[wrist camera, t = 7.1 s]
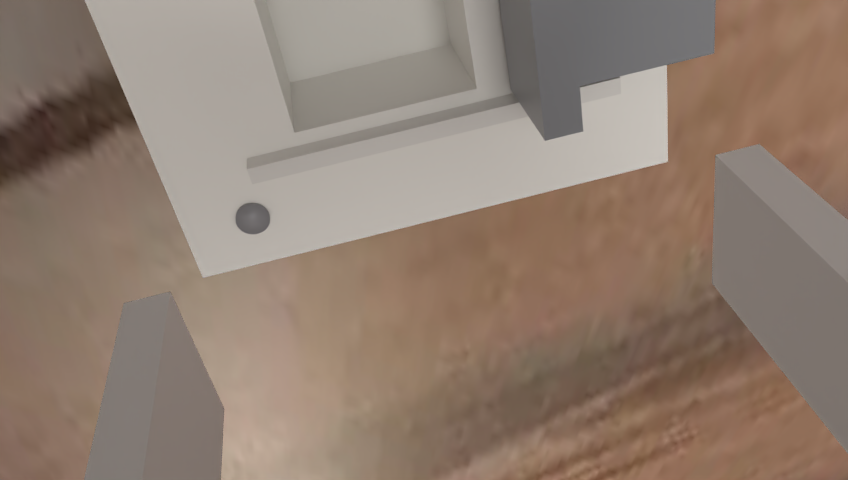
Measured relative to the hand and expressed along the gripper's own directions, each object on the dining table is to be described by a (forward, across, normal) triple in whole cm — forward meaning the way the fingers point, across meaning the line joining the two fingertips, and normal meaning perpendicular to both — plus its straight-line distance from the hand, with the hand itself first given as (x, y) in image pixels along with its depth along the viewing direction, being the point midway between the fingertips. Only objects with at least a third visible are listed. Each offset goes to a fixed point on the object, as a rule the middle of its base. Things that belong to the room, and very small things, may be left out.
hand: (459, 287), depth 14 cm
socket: (+20, 0, 0) cm, 20 cm away
